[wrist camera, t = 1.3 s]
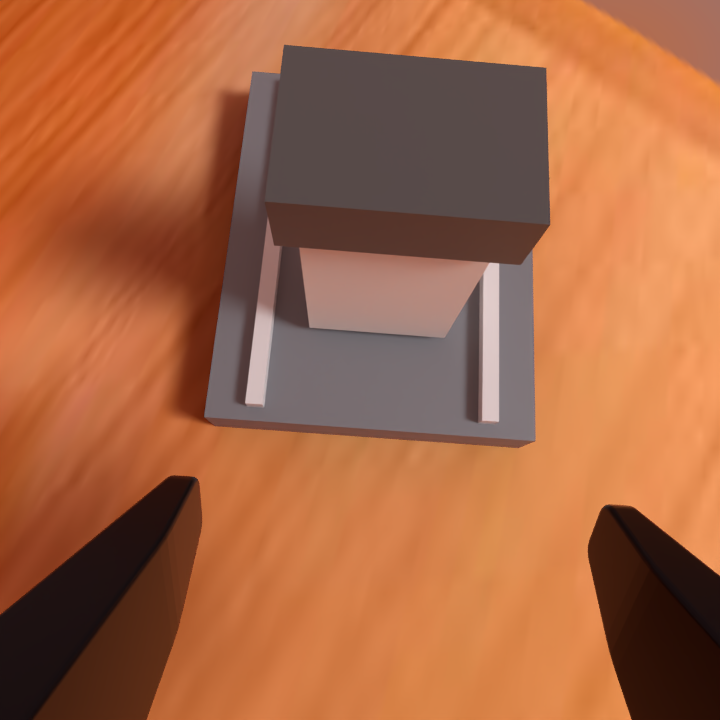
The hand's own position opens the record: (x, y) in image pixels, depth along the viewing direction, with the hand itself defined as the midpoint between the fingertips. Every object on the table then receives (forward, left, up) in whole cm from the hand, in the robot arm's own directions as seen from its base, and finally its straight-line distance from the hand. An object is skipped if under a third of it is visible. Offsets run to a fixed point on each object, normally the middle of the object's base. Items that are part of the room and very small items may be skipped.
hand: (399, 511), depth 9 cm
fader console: (+8, -7, -14) cm, 17 cm away
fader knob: (+6, -5, -11) cm, 14 cm away
